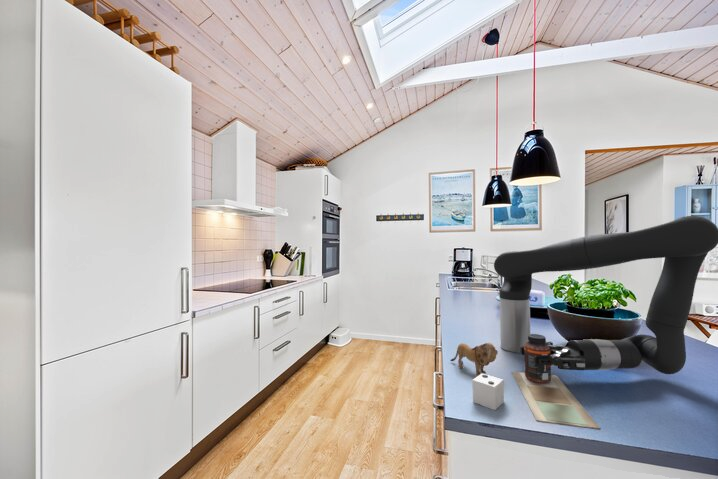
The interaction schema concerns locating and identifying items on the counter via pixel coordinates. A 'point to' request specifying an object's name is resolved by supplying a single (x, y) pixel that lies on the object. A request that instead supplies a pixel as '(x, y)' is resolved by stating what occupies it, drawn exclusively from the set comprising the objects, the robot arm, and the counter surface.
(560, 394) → the game board
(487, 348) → the lion figurine
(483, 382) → the die
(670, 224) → the robot arm
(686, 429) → the counter surface
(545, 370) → the supplement bottle
